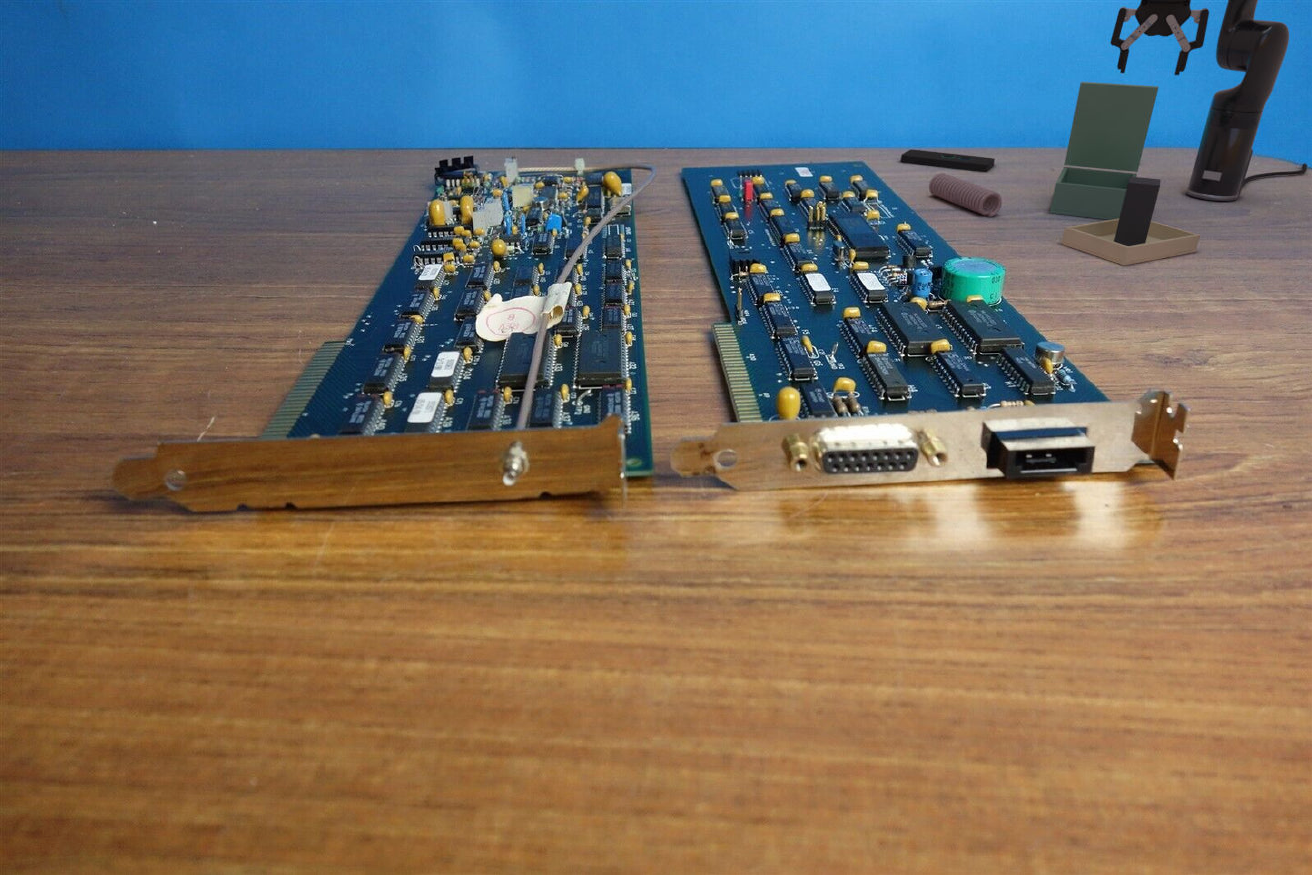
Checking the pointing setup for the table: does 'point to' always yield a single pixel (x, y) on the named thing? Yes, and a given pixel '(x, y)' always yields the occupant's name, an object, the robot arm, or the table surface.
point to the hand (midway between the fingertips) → (1149, 73)
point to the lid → (1110, 125)
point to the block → (1137, 211)
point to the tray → (1157, 246)
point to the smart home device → (948, 160)
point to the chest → (1090, 193)
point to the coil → (965, 194)
